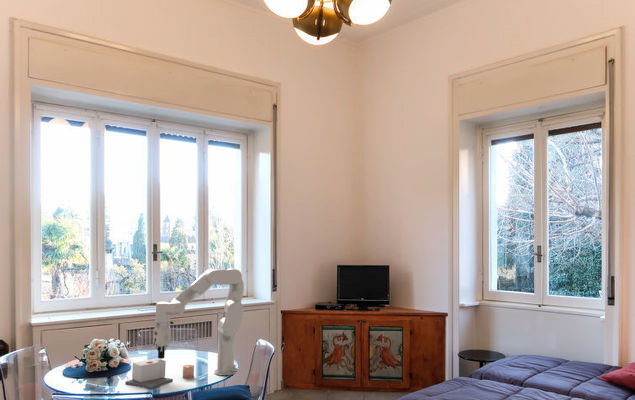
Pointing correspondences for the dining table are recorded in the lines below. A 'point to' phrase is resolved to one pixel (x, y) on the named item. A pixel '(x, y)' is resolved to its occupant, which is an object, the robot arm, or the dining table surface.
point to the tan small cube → (188, 371)
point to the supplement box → (148, 370)
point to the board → (149, 383)
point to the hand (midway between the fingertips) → (161, 358)
